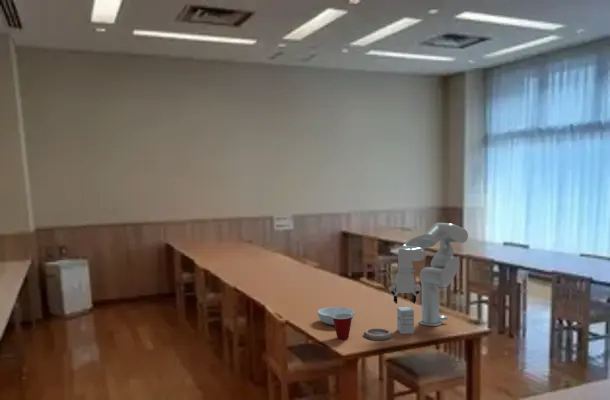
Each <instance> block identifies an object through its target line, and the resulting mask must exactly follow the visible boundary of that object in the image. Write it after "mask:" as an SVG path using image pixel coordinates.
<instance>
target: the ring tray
mask: <svg viewBox="0 0 610 400" xmlns="http://www.w3.org/2000/svg"><path fill="white" fill-rule="evenodd" d="M393 336H394V335H393V333H392V331H390V330H389V329H387V328H383V327H382V328H381V327H372V328H368V329H366V330H365V331H364V332H363V337H364V338H365V339H367V340H370V341H379V342H380V341H388V340H391V339H392V338H393Z"/></svg>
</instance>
